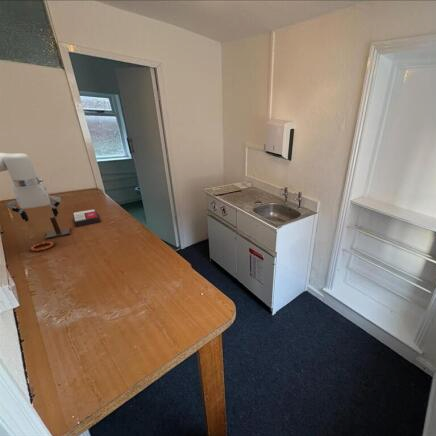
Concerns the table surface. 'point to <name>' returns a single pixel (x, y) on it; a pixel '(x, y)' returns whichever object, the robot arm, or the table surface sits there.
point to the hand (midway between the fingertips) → (42, 218)
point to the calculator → (85, 217)
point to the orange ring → (42, 244)
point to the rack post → (57, 230)
